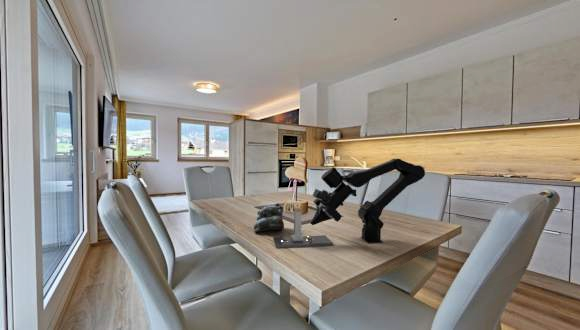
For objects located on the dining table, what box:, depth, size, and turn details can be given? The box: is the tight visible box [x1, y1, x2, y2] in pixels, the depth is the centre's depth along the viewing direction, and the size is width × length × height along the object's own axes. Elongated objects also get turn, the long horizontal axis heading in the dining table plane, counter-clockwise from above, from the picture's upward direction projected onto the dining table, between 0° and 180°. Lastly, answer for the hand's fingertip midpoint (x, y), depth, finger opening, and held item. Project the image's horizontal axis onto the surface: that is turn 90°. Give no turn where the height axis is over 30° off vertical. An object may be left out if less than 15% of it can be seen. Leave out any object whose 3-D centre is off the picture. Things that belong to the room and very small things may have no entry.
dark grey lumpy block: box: [253, 203, 285, 233], centre depth 108 cm, size 15×12×14 cm
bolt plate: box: [272, 234, 334, 249], centre depth 93 cm, size 22×9×2 cm, turn 100°
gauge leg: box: [290, 207, 304, 242], centre depth 92 cm, size 4×4×12 cm
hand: (311, 224), depth 93 cm, fingers closed
